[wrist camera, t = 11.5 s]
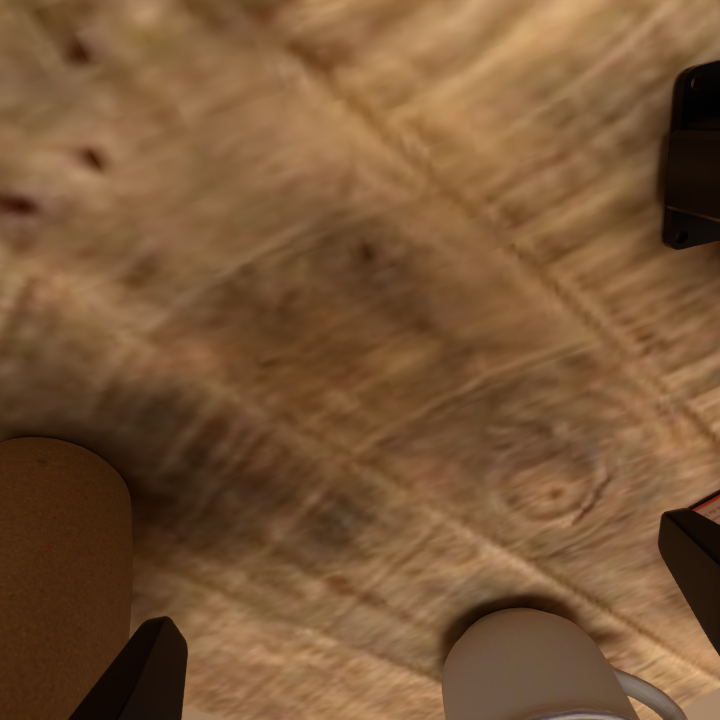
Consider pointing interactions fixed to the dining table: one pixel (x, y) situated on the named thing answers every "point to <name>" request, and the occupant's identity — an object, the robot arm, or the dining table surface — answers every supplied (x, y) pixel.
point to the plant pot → (60, 575)
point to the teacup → (540, 674)
